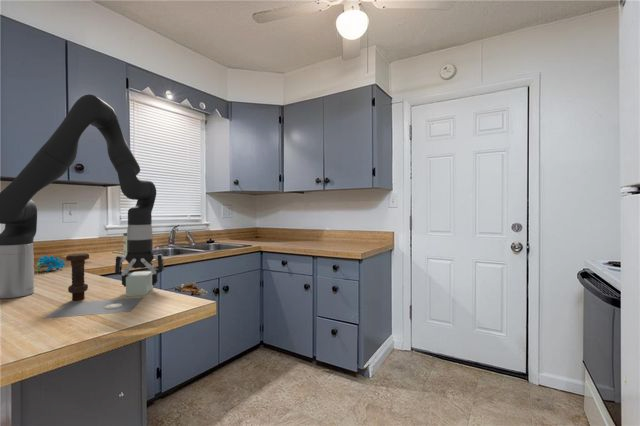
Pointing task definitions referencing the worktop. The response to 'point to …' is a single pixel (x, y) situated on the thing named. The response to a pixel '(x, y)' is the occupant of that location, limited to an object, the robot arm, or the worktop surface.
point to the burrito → (191, 289)
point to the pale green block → (139, 283)
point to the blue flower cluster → (50, 263)
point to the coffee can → (125, 244)
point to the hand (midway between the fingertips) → (140, 285)
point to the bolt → (77, 276)
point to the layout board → (95, 307)
